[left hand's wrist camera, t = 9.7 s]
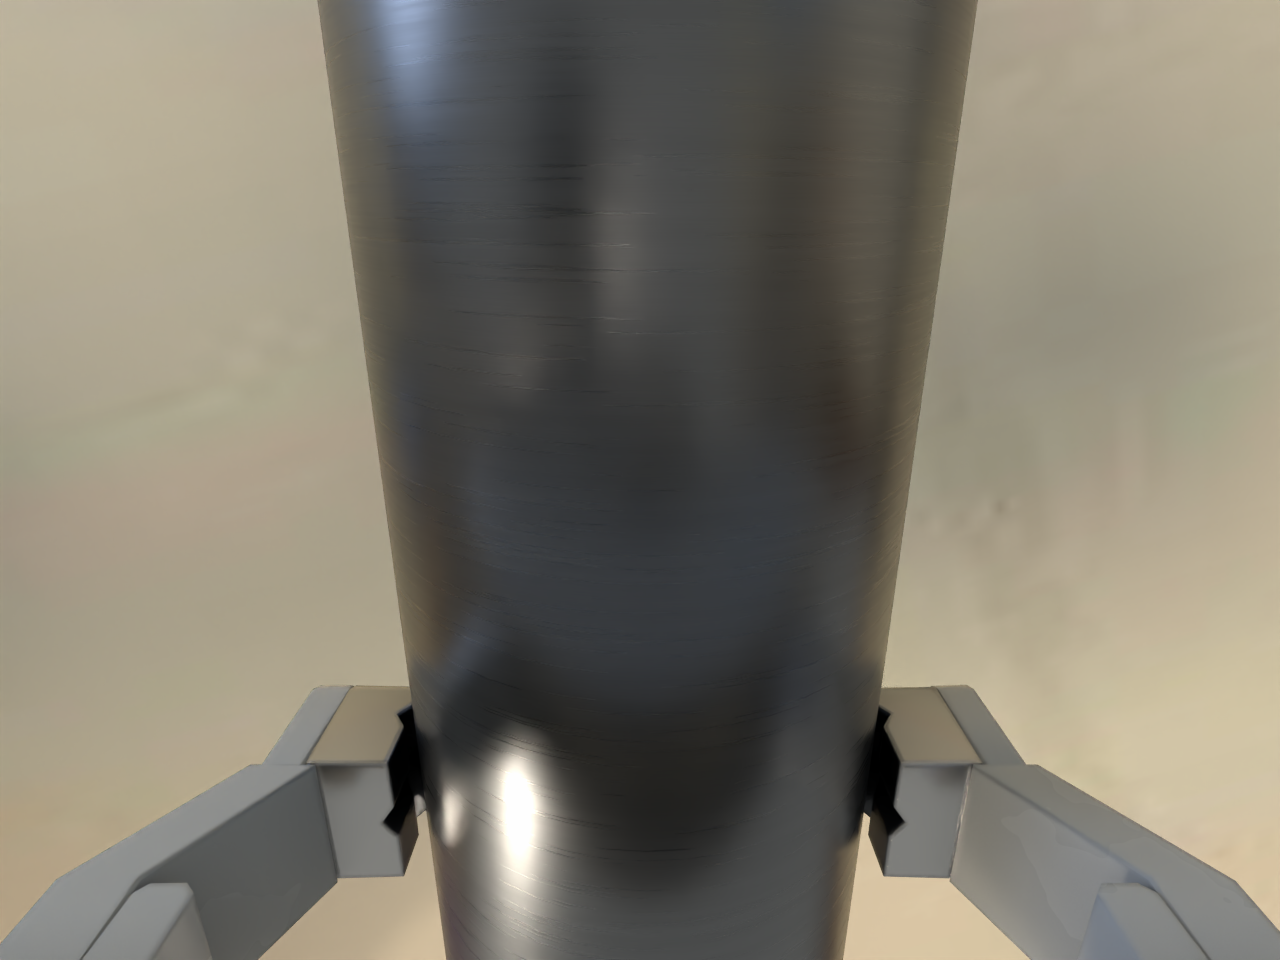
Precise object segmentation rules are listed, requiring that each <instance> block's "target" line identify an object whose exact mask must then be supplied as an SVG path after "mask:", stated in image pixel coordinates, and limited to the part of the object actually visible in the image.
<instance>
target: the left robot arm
mask: <svg viewBox="0 0 1280 960" xmlns="http://www.w3.org/2000/svg"><path fill="white" fill-rule="evenodd" d="M425 810H426V804H425V796H424V789H423V781H422V774H421V767H420V759H419V752H418V744H417V737H416V729H415V722H414V714H413V707H412V700H411V692H410V687H403V686H357V685H356V686H351V685H321V686H319V687H317V688H315V689H313V690H312V691H311V692H310V694H309V695H308V697H307V698H306V700H305V701H304V703H303V704H302V706H301V707H300V709H299V710H298V712H297V713H296V715H295V716H294V718H293V719H292V720H291V722H290V723H289V725H288V726H287V728H286V729H285V731H284V732H283V734H282V735H281V737H280V738H279V740H278V741H277V743H276V744H275V746H274V747H273V748H272V750H271V751H270V753H269V754H268V756H267V757H266V759H265V760H264V762H263V763H262V765H249V766H247V767H246V768H244V769H242V770H241V771H239V772H237V773H236V774H234V775H232V776H231V777H229V778H227V779H225V780H224V781H222V782H220V783H219V784H217V785H215V786H214V787H212V788H210V789H209V790H207V791H205V792H203V793H202V794H200V795H198V796H197V797H195V798H193V799H192V800H190V801H188V802H187V803H185V804H183V805H181V806H180V807H178V808H176V809H175V810H173V811H171V812H170V813H168V814H166V815H165V816H163V817H161V818H159V819H158V820H156V821H154V822H153V823H151V824H149V825H148V826H146V827H144V828H143V829H141V830H139V831H137V832H136V833H134V834H132V835H131V836H129V837H127V838H126V839H124V840H122V841H121V842H119V843H117V844H115V845H114V846H112V847H110V848H109V849H107V850H105V851H104V852H102V853H100V854H99V855H97V856H95V857H93V858H92V859H90V860H88V861H87V862H85V863H83V864H82V865H80V866H78V867H77V868H75V869H73V870H71V871H70V872H68V873H66V874H65V875H63V876H61V877H60V878H58V879H56V880H55V881H54V883H53V884H52V885H51V886H50V887H49V888H48V890H47V891H46V892H45V893H44V894H43V895H42V896H41V898H40V899H39V900H38V901H37V902H36V903H35V905H34V906H33V907H32V908H31V909H30V910H29V911H28V913H27V914H26V915H25V916H24V917H23V918H22V920H21V921H20V922H19V923H18V924H17V925H16V926H15V928H14V929H13V930H12V931H11V932H10V933H9V935H8V936H7V937H6V938H5V939H4V940H3V942H2V943H1V944H0V960H258V959H259V958H260V957H261V956H262V955H263V954H264V953H265V952H266V951H267V950H268V949H269V948H270V947H271V946H272V945H273V944H274V943H275V942H276V941H277V940H278V939H279V938H280V937H281V936H283V935H284V934H285V933H286V932H287V931H288V930H289V929H290V928H291V927H292V926H293V925H294V924H295V923H296V922H297V921H298V920H299V919H300V918H301V917H302V916H303V915H304V914H305V913H306V912H307V911H308V910H309V909H310V908H311V907H312V906H313V905H314V904H315V903H317V902H318V901H319V900H320V899H321V898H322V897H323V896H324V895H325V894H326V893H327V892H328V891H329V890H330V889H331V888H332V887H333V886H334V885H335V884H336V883H337V878H361V877H395V876H404V874H405V871H406V869H407V866H408V863H409V860H410V857H411V855H412V852H413V849H414V846H415V843H416V841H417V838H418V835H419V833H418V825H417V817H418V816H419V815H420V814H421V813H422V812H424V811H425ZM864 813H865V814H867V815H868V816H869V817H870V825H869V833H868V835H869V838H870V841H871V843H872V846H873V849H874V851H875V854H876V857H877V859H878V862H879V865H880V868H881V870H882V873H883V876H890V877H925V878H950V882H951V883H952V884H953V885H954V886H955V887H956V888H957V889H958V890H959V891H960V892H961V893H962V894H963V895H964V896H965V897H966V898H967V899H968V900H969V901H971V902H972V903H973V904H974V905H975V906H976V907H977V908H978V909H979V910H980V911H981V912H982V913H983V914H984V915H985V916H986V917H987V918H988V919H989V920H990V921H991V922H992V923H993V924H994V925H995V926H996V927H997V928H999V929H1000V930H1001V931H1002V932H1003V933H1004V934H1005V935H1006V936H1007V937H1008V938H1009V939H1010V940H1011V941H1012V942H1013V943H1014V944H1015V945H1016V946H1017V947H1018V948H1019V949H1020V950H1021V951H1022V952H1023V953H1024V954H1026V955H1027V956H1028V957H1029V958H1030V959H1031V960H1280V931H1279V930H1278V929H1277V928H1276V927H1275V926H1274V924H1273V923H1272V922H1271V921H1270V920H1269V919H1268V918H1267V916H1266V915H1265V914H1264V913H1263V912H1262V911H1261V910H1260V908H1259V907H1258V906H1257V905H1256V904H1255V903H1254V902H1253V900H1252V899H1251V898H1250V897H1249V896H1248V895H1247V894H1246V892H1245V891H1244V890H1243V889H1242V888H1241V887H1240V886H1239V884H1238V883H1237V882H1236V881H1235V880H1233V879H1231V878H1230V877H1228V876H1226V875H1225V874H1223V873H1221V872H1219V871H1218V870H1216V869H1214V868H1213V867H1211V866H1209V865H1207V864H1206V863H1204V862H1202V861H1201V860H1199V859H1197V858H1196V857H1194V856H1192V855H1190V854H1189V853H1187V852H1185V851H1184V850H1182V849H1180V848H1179V847H1177V846H1175V845H1173V844H1172V843H1170V842H1168V841H1167V840H1165V839H1163V838H1162V837H1160V836H1158V835H1156V834H1155V833H1153V832H1151V831H1150V830H1148V829H1146V828H1144V827H1143V826H1141V825H1139V824H1138V823H1136V822H1134V821H1133V820H1131V819H1129V818H1127V817H1126V816H1124V815H1122V814H1121V813H1119V812H1117V811H1116V810H1114V809H1112V808H1110V807H1109V806H1107V805H1105V804H1104V803H1102V802H1100V801H1099V800H1097V799H1095V798H1093V797H1092V796H1090V795H1088V794H1087V793H1085V792H1083V791H1081V790H1080V789H1078V788H1076V787H1075V786H1073V785H1071V784H1070V783H1068V782H1066V781H1064V780H1063V779H1061V778H1059V777H1058V776H1056V775H1054V774H1053V773H1051V772H1049V771H1047V770H1046V769H1044V768H1042V767H1041V766H1039V765H1026V763H1025V762H1024V760H1023V759H1022V758H1021V756H1020V755H1019V753H1018V752H1017V750H1016V749H1015V748H1014V746H1013V745H1012V743H1011V742H1010V740H1009V739H1008V738H1007V736H1006V735H1005V733H1004V732H1003V730H1002V729H1001V728H1000V726H999V725H998V723H997V722H996V720H995V719H994V718H993V716H992V715H991V713H990V712H989V710H988V709H987V708H986V706H985V705H984V703H983V702H982V700H981V699H980V697H979V696H978V695H977V693H976V692H975V690H974V689H973V688H971V687H969V686H968V685H948V686H931V687H886V688H881V692H880V699H879V706H878V713H877V721H876V728H875V735H874V742H873V749H872V756H871V763H870V770H869V778H868V785H867V792H866V799H865V806H864Z"/></svg>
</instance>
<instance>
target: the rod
mask: <svg viewBox="0 0 1280 960" xmlns="http://www.w3.org/2000/svg"><path fill="white" fill-rule="evenodd" d="M977 2H978V0H318V7H319V15H320V22H321V29H322V37H323V44H324V52H325V59H326V67H327V74H328V82H329V89H330V96H331V104H332V111H333V119H334V126H335V134H336V141H337V149H338V156H339V163H340V171H341V178H342V186H343V193H344V201H345V208H346V216H347V223H348V230H349V238H350V245H351V253H352V260H353V268H354V275H355V283H356V290H357V297H358V305H359V312H360V320H361V327H362V335H363V342H364V350H365V357H366V364H367V372H368V379H369V387H370V394H371V402H372V409H373V417H374V424H375V432H376V439H377V446H378V454H379V461H380V469H381V476H382V484H383V491H384V499H385V506H386V513H387V521H388V528H389V536H390V543H391V551H392V558H393V566H394V573H395V580H396V588H397V595H398V603H399V610H400V618H401V625H402V633H403V640H404V647H405V655H406V662H407V670H408V677H409V685H410V692H411V700H412V707H413V714H414V722H415V729H416V737H417V744H418V752H419V759H420V767H421V774H422V781H423V789H424V796H425V804H426V811H427V819H428V826H429V834H430V841H431V848H432V856H433V863H434V871H435V878H436V886H437V893H438V901H439V908H440V915H441V923H442V930H443V938H444V945H445V953H446V960H843V955H844V948H845V941H846V934H847V927H848V920H849V913H850V906H851V898H852V891H853V884H854V877H855V870H856V863H857V856H858V849H859V842H860V834H861V827H862V820H863V813H864V806H865V799H866V792H867V785H868V778H869V770H870V763H871V756H872V749H873V742H874V735H875V728H876V721H877V713H878V706H879V699H880V692H881V685H882V678H883V671H884V664H885V657H886V649H887V642H888V635H889V628H890V621H891V614H892V607H893V600H894V593H895V585H896V578H897V571H898V564H899V557H900V550H901V543H902V536H903V529H904V521H905V514H906V507H907V500H908V493H909V486H910V479H911V472H912V464H913V457H914V450H915V443H916V436H917V429H918V422H919V415H920V408H921V400H922V393H923V386H924V379H925V372H926V365H927V358H928V351H929V344H930V336H931V329H932V322H933V315H934V308H935V301H936V294H937V287H938V280H939V272H940V265H941V258H942V251H943V244H944V237H945V230H946V223H947V216H948V208H949V201H950V194H951V187H952V180H953V173H954V166H955V159H956V151H957V144H958V137H959V130H960V123H961V116H962V109H963V102H964V95H965V87H966V80H967V73H968V66H969V59H970V52H971V45H972V38H973V31H974V23H975V16H976V9H977Z"/></svg>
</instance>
